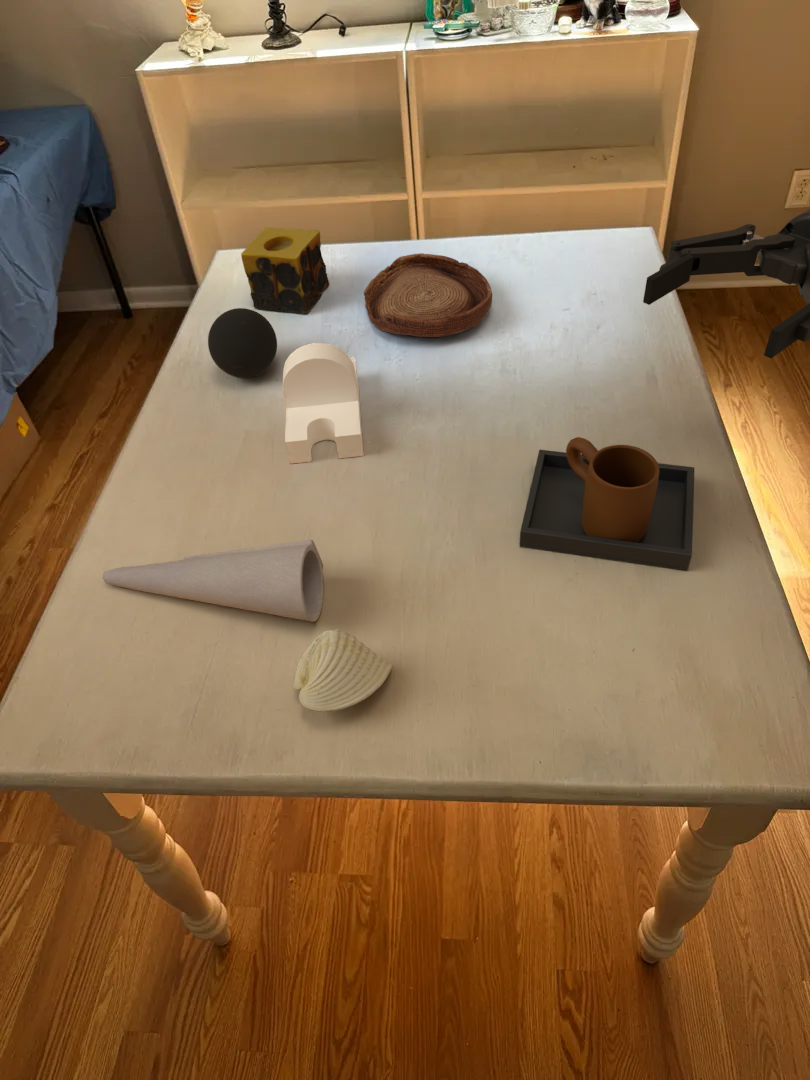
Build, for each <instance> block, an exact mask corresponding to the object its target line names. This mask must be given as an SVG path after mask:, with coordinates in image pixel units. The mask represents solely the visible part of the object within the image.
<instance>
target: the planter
mask: <svg viewBox="0 0 810 1080" xmlns="http://www.w3.org/2000/svg"><path fill="white" fill-rule="evenodd" d="M102 580H103V582H104V583H105V584H108V585H111V586H116V587H120V588H125V589H130V590H135V591H140V592H146V593H149V594H150V593H151V594H156V595H162V596H168V597H173V598H178V599H184V600H191V601H197V602H202V603H207V604H212V605H219V606H223V607H229V608H235V609H241V610H246V611H252V612H257V613H263V614H268V615H275V616H280V617H284V618H289V619H296V620H301V621H306V622H316V621H317V620H318V619H319V617H320V616H321V613H322V610H323V609H322V608H323V604H324V596H325V595H324V594H325V593H324V592H325V584H324V563H323V560H322V558H321V556H320V553H319V550H318V548H317V546H316V543H315V541H314V540H313V539H306V540H298V541H291V542H284V543H276V544H270V545H263V546H256V547H255V546H254V547H248V548H240V549H233V550H226V551H219V552H218V551H217V552H211V553H205V554H203V553H202V554H197V555H191V556H190V555H189V556H184V557H183V559H180V560H174V561H165V562H158V563H150V564H143V565H134V566H121V567H116V568H111V569H108V570H107V571H104V572H103V574H102Z"/></svg>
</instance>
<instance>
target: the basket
mask: <svg viewBox="0 0 810 1080" xmlns="http://www.w3.org/2000/svg"><path fill="white" fill-rule="evenodd" d="M363 296H364V301H365V308H366V309H365V310H366V312H367V316H368V318H369V320H370V322H371V323H372V325H373V326H375V328H376V329H378V330H379V331H382V332H384V333H391V334H395V335H403V336H414V337H417V338H418V337H419V338H428V337H429V338H440V337H446V336H447V337H449V336H452V335H456V334H460V333H463V332H466V331H469V330H470V329H473V328H474V327H476V326H477V325H479V324H480V323H481V322H482V321H483V320H484V319H485V317H486V316H487V315H488V313H489V311H490V309H491V307H492V302H493V291H492V287H491V284H490V283H489V281H488V279H487V278H486V276H484V275H483V273H481V272H480V271H479V270H478V269H477V268H474V267H473V266H472V265H469V264H467V263H466V262H464V261H463V262H462V261H461V262H459V261H458V260H457V259H456V258H453V257H449V256H446V255H442V254H441V255H440V254H431V253H413V254H407V255H403V256H399V257H397V258H395V260H393V262H392V263H391V264H390V265H388V266H386V267H385V268H384V269H381V270H380V272H379V273H377V275H375V277H373V278H372V279H371V280H370V281H369V283H368V284H367V286H366V287H365V289H364V290H363Z"/></svg>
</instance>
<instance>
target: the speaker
mask: <svg viewBox="0 0 810 1080" xmlns="http://www.w3.org/2000/svg"><path fill="white" fill-rule="evenodd" d="M207 346H208V347H207V348H208V352H209V354H210V357H211V359H212V361H213V362H214V363H215V366H217V368H219V369H220V370H221V371H222V372H224V373H226V374H227V375H228V376H231V377H234V378H237V379H238V378H239V379H249V378H254V377H258V376H259V375H261V374H263V373H264V372H265V371H267V370H268V369H269V368H270V366H271V365H272V364H273V362H274V360H275V358H276V356H277V351H278V338H277V335H276V332H275V329H274V327H273V325H272V323H270V321H269V319H267V318H266V317H265V316H264V315H262V314H261V313H259V312H258V311H256V310H253V309H250V308H246V307H245V308H243V307H239V308H238V307H236V308H231V309H229V310H226V311H224V312H222V313H221V314H220V315H219V316H218V317H216V319H215V320H214V321H213V323H212V324H211V327H210V328H209V331H208V336H207Z"/></svg>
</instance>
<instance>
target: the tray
mask: <svg viewBox="0 0 810 1080" xmlns="http://www.w3.org/2000/svg"><path fill="white" fill-rule="evenodd" d="M581 456H582V459H583V460H584V462H585V463H586V464H587V465H588V466H589V462H588V461H587V460H586V458H585V457H584V456H583V455H582V454H581ZM657 463H658V466H659V478H658V487H657V491H656V496H655V500H654V505H653V509H652V513H651V517H650V522H649V526H648V530H647V532H646V534H645V536H644V537H643V538H642V539H641V540H640V541H639V542H638V543H635V542H628V541H621V540H614V539H606V538H599V537H592V536H587V535H586V533H585V532H584V530H583V527H582V521H581V518H582V509H583V500H584V492H585V483H584V482H583V480H582V479H581V478H580V477H579V476H577V475H576V474H575V472H574V471H573V470H572V468H571V467H570V465H569V462H568V459H567V455H566V451H565V452H564V451H558V450H557V451H556V450H546V449H539V450H538V454H537V458H536V464H535V466H534V471H533V476H532V481H531V484H530V488H529V492H528V496H527V501H526V506H525V510H524V514H523V517H522V521H521V522H522V523H521V527H520V531H519V532H520V533H519V547H520V548H524V549H525V548H526V549H531V550H533V549H534V550H540V551H546V552H552V553H560V554H567V555H568V554H569V555H574V556H581V557H588V558H596V559H602V560H609V561H616V562H621V563H622V562H623V563H628V564H629V563H630V564H636V565H644V566H649V567H657V568H664V569H671V570H676V571H677V570H679V571H683V572H684V571H685V572H687V571H688V570H689V567H690V564H691V560H692V557H693V532H694V530H693V529H694V501H695V500H694V498H695V495H694V493H695V466H687V465H676V464H668V463H660V462H657Z"/></svg>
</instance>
